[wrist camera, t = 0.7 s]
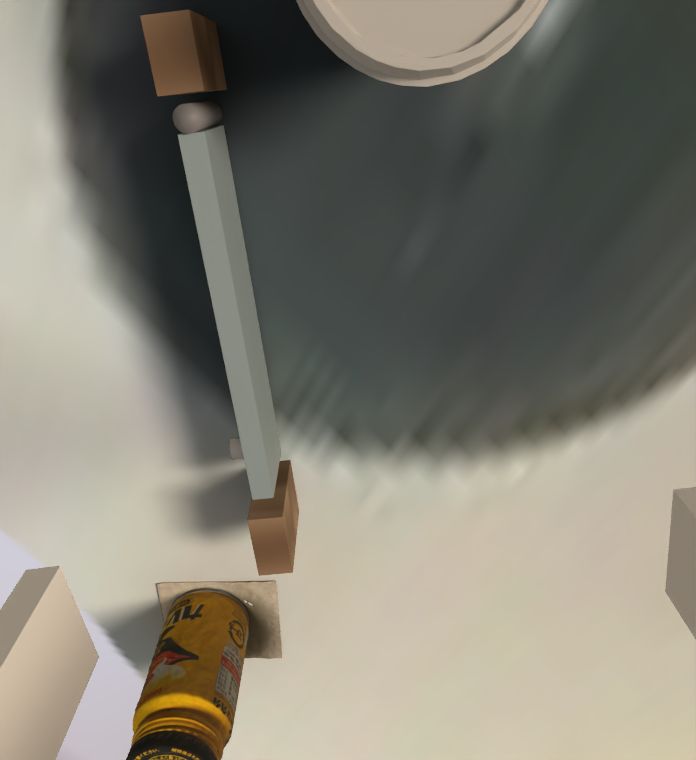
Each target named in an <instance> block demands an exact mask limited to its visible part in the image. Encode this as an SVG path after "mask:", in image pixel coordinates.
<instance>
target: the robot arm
mask: <svg viewBox="0 0 696 760" xmlns="http://www.w3.org/2000/svg"><path fill="white" fill-rule="evenodd" d="M665 592H666V593H667V595H668V596H669V598H670V599H671V601H672V603H673V604H674V606H675V607H676V609H677V611H678V612H679V614H680V615H681V617H682V618H683V620H684V622H685V623H686V625H687V626H688V628H689V629H690V631H691V633H692V634H693V636H694V637H695V639H696V487H693V488H685V489H676V490H673V501H672V514H671V527H670V539H669V552H668V565H667V577H666V590H665ZM98 658H99V656H98V654H97V652H96V649H95V647H94V645H93V642H92V640H91V638H90V635H89V633H88V631H87V628H86V626H85V623H84V621H83V619H82V616H81V614H80V612H79V609H78V607H77V605H76V602H75V600H74V597H73V595H72V593H71V590H70V588H69V586H68V583H67V581H66V579H65V576H64V574H63V572H62V569H61V567H60V566H54V567H46V568H38V569H31V570H26V571H25V573H24V574H23V576H22V577H21V579H20V580H19V582H18V584H17V585H16V586H15V588H14V590H13V591H12V593H11V594H10V596H9V597H8V599H7V600H6V602H5V603H4V605H3V607H2V608H1V610H0V760H55V759H56V757H57V754H58V752H59V750H60V747H61V745H62V743H63V740H64V738H65V736H66V733H67V731H68V728H69V726H70V724H71V721H72V719H73V717H74V714H75V712H76V709H77V707H78V705H79V703H80V700H81V698H82V695H83V693H84V690H85V688H86V686H87V684H88V681H89V679H90V676H91V674H92V672H93V669H94V667H95V665H96V662H97V660H98Z"/></svg>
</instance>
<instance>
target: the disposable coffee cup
mask: <svg viewBox="0 0 696 760" xmlns="http://www.w3.org/2000/svg"><path fill="white" fill-rule="evenodd" d="M296 1H297V3H298V6H299V8H300V10H301V12H302V14H303V16H304V17H305V19H306V20H307V21H308V23H309V24H310V26H311V27H312V29H313V30H314V32H315V33H316V35H317V36H318V37H319V38H320V39H321V40H322V41H323V42H324V43H325V44H326V45H327V46H328V47H329V48H330V49H331V50H332V51H333V52H334V53H335V54H336V55H337V56H338V57H339V58H340V59H342V60H343V61H345V62H346V63H347V64H349V65H350V66H352V67H353V68H355V69H356V70H358V71H360V72H362V73H364V74H366V75H368V76H371V77H373V78H375V79H377V80H381V81H385V82H389V83H393V84H397V85H403V86H425V87H428V86H433V85H438V84H442V83H447V82H452V81H457V80H461V79H463V78H465V77H467V76H469V75H471V74H473V73H475V72H478V71H480V70H482V69H484V68H486V67H487V66H489V65H490V64H491V63H493V62H494V61H496V60H497V59H498V58H500V57H501V56H503V55H504V54H505V53H507V52H508V51H509V50H510V49H511V48H512V47H513V46H514V45H515V44H516V43H517V42H518V41H519V40H520V39H521V37H522V36H523V35H524V34H525V33H526V32H527V31H528V30H529V29H530V28H531V27H532V25H533V24H534V22H535V21H536V19H537V18H538V16H539V14H540V13H541V11H542V10H543V8H544V6H545V5H546V3H547V2H548V0H296Z"/></svg>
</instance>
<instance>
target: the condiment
mask: <svg viewBox="0 0 696 760" xmlns="http://www.w3.org/2000/svg"><path fill="white" fill-rule="evenodd" d="M157 588H158V594H159V598H160V604H161V608H162V614H163V619H164V626H163V630H162V632H161V634H160V636H159V641H158V644H157V648H156V650H155V654H154V657H153V659H152V663H151V666H150V667H149V672H148V675H147V679H146V682H145V684H144V687H143V691H142V693H141V697H140V700H139V702H138V704H137V707H136V709H135V715H134V719H133V731H134V736H133V739H132V745H131V749H130V752H129V754H128V757H127V759H126V760H221V758H222V754H223V749H224V747H225V746H226V744H227V743H228V742H229V739H230V737H231V733H232V728H233V724H234V717H235V711H236V705H237V699H238V693H239V687H240V681H241V675H242V669H243V664H244V658H268V659H271V658H282V652H281V637H280V624H279V613H278V612H279V611H278V601H277V589H276V581H269V582H248V583H247V582H235V583H231V582H181V583H161V584H157ZM244 600H246V601H247V603H245V602H244ZM249 602H250V603H252V604H253V606H251V605H249V604H248V603H249Z"/></svg>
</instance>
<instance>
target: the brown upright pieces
mask: <svg viewBox="0 0 696 760" xmlns="http://www.w3.org/2000/svg"><path fill="white" fill-rule="evenodd" d="M140 17H141V22H142V27H143V31H144V36H145V41H146V46H147V50H148V55H149V60H150V64H151V69H152V74H153V79H154V83H155V88H156V93H157V96H172V95H187V94H196V93H204V92H212V91H221V90H227V86H226V80H225V74H224V68H223V63H222V57H221V51H220V45H219V39H218V33H217V27H216V22H214V21H212V20H210V19H208V18H206V17H204V16H202V15H199V14H197V13H195V12H193V11H191V10H189V9H188V10H180V11H172V12H164V13H156V14H148V15H140ZM298 515H299V509H298V503H297V497H296V491H295V485H294V479H293V473H292V468H291V462H290V461H280V462H279V468H278V474H277V480H276V486H275V492H274V498H267V499H256V500H252V501H251V506H250V511H249V515H248V520H247V521H248V526H249V530H250V535H251V540H252V544H253V549H254V554H255V559H256V563H257V568H258V573H259V576H260V575H271V574H281V573H292V572H293V565H294V555H295V545H296V535H297V525H298Z"/></svg>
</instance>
